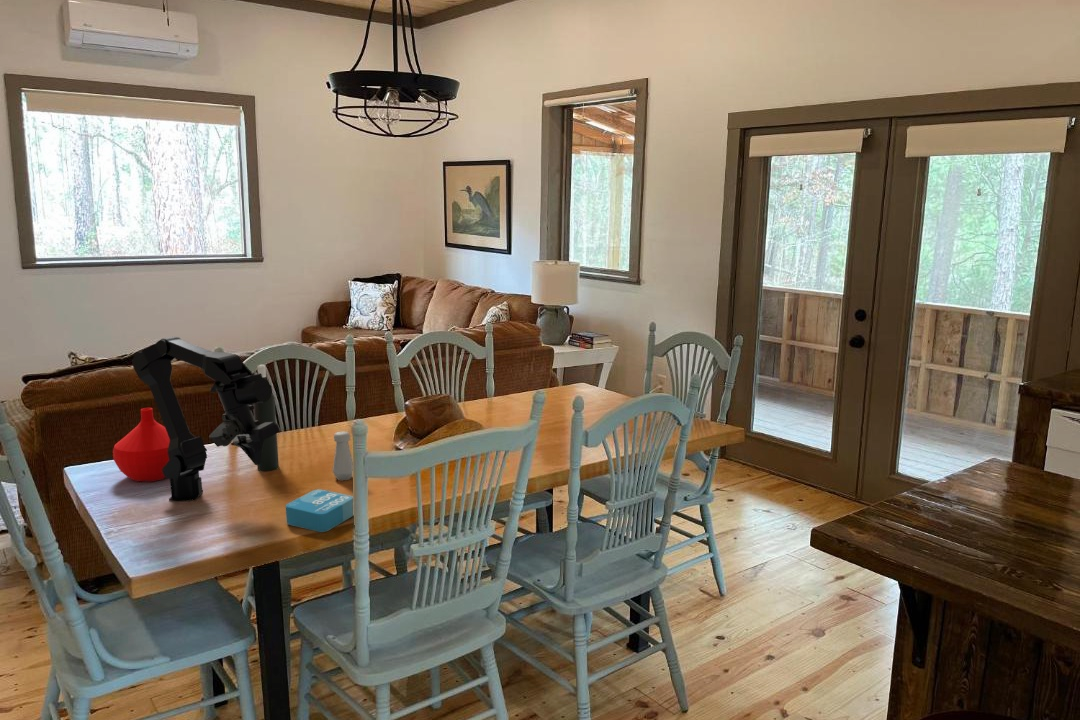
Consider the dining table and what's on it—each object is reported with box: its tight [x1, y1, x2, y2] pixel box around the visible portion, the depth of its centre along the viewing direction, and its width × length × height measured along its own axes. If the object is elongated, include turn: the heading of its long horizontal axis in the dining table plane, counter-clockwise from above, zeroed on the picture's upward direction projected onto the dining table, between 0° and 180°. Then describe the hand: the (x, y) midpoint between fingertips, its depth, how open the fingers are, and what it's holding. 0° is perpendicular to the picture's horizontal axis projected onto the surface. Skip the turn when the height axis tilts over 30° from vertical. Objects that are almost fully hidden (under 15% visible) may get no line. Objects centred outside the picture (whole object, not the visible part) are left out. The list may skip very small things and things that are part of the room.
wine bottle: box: [252, 364, 280, 472], centre depth 228 cm, size 6×6×30 cm
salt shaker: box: [332, 430, 354, 481], centre depth 221 cm, size 6×6×13 cm
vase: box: [112, 407, 170, 482], centre depth 222 cm, size 18×18×19 cm
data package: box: [285, 489, 354, 533], centre depth 192 cm, size 12×4×12 cm
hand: (258, 464), depth 199 cm, fingers closed
